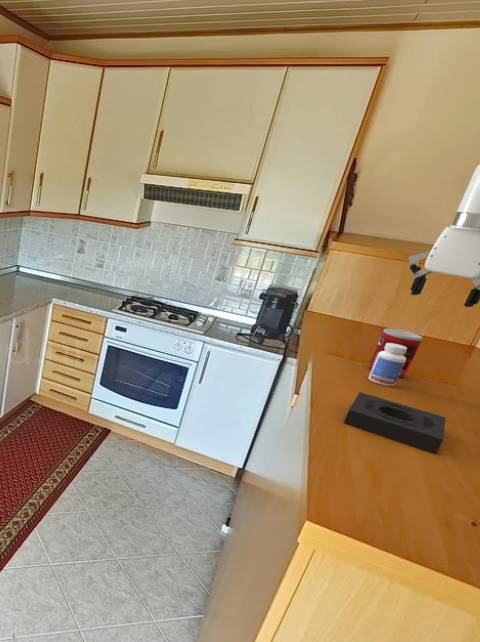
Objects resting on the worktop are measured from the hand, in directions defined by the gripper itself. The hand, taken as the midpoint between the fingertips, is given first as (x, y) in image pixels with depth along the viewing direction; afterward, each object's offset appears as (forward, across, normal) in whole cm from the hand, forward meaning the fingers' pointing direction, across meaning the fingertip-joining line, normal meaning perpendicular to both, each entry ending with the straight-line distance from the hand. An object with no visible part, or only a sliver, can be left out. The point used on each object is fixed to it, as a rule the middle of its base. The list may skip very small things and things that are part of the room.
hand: (440, 300), depth 111 cm
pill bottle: (+22, +4, +1) cm, 23 cm away
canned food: (+22, +7, -10) cm, 26 cm away
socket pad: (+22, -10, +29) cm, 37 cm away
